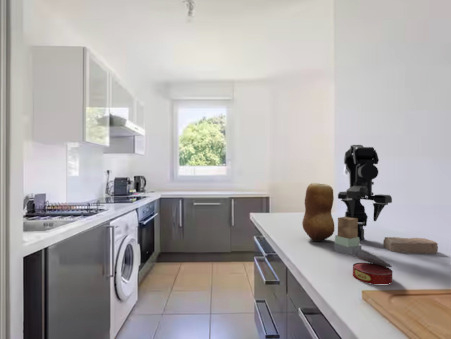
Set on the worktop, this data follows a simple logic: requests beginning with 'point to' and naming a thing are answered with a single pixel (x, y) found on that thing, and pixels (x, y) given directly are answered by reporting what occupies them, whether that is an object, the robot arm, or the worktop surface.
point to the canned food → (371, 268)
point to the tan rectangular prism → (348, 227)
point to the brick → (410, 245)
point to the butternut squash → (318, 212)
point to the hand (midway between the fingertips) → (362, 219)
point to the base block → (346, 248)
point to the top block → (346, 241)
